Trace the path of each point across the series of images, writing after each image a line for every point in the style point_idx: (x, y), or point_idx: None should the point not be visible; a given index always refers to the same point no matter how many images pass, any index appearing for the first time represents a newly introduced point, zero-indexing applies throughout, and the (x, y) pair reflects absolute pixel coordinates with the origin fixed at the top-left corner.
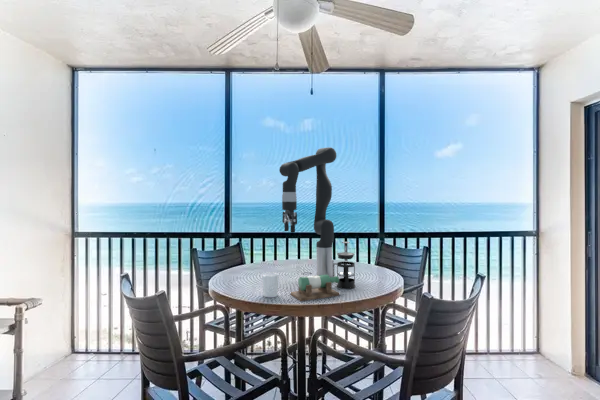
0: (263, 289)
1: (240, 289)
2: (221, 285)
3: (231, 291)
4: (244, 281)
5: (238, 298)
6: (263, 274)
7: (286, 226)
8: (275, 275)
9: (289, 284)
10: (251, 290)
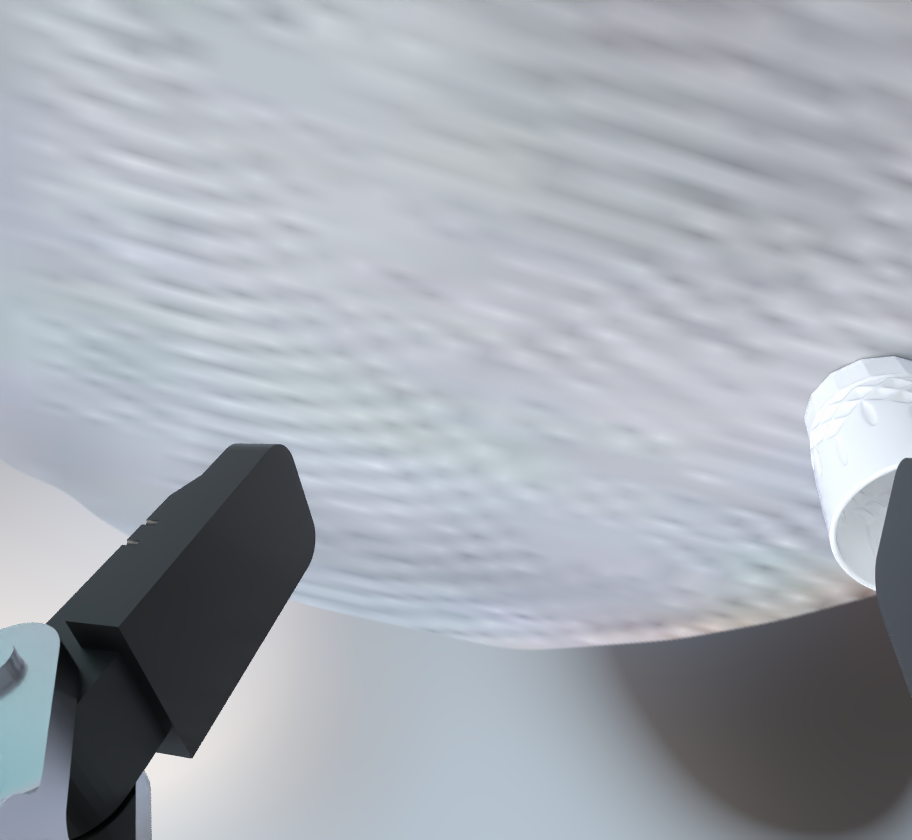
0: (883, 500)
1: (574, 538)
2: (425, 599)
3: (601, 592)
4: (354, 460)
5: (801, 604)
6: (852, 566)
7: (221, 628)
8: (896, 452)
9: (583, 128)
10: (637, 487)
